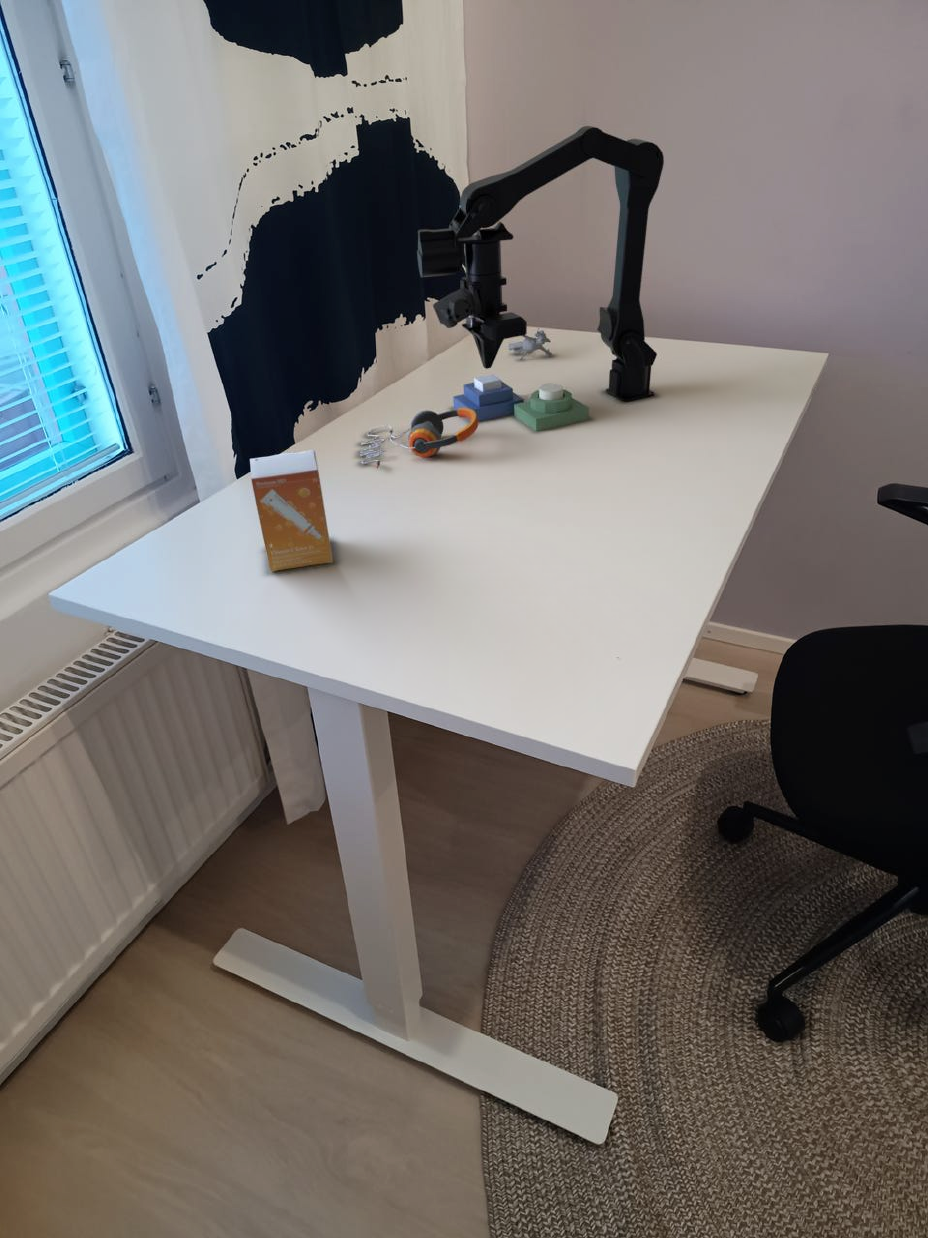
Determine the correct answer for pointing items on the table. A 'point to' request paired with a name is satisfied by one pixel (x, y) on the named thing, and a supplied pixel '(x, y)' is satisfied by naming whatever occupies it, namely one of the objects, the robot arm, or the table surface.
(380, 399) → the table surface
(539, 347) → the grey figurine
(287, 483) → the small box
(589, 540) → the table surface
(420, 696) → the table surface
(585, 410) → the green switch
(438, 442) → the headphones
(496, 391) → the blue switch
